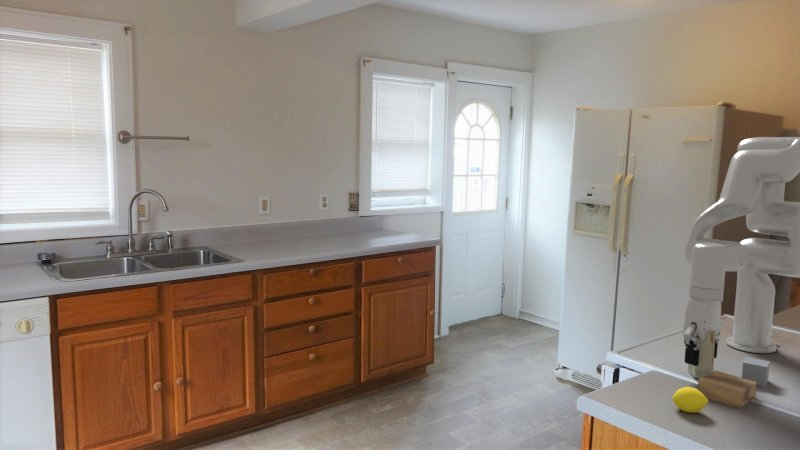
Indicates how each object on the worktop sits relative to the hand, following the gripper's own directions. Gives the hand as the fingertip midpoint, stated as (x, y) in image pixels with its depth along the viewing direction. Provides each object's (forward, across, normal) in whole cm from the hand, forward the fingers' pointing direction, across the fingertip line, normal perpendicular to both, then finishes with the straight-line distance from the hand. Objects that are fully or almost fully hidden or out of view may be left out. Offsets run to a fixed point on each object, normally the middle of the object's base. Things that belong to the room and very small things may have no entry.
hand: (700, 360), depth 147 cm
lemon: (+4, +23, +9) cm, 25 cm away
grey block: (+4, -7, +10) cm, 13 cm away
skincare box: (+4, 0, 0) cm, 4 cm away
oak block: (+4, +8, +10) cm, 13 cm away
